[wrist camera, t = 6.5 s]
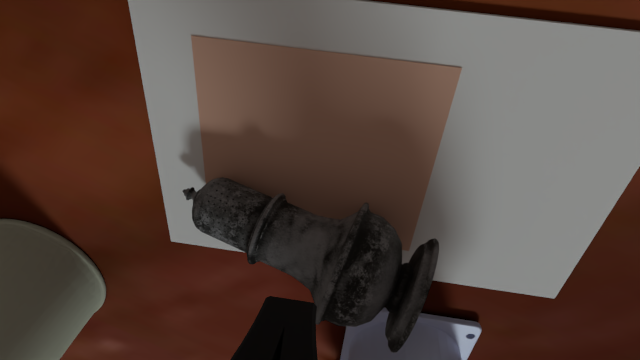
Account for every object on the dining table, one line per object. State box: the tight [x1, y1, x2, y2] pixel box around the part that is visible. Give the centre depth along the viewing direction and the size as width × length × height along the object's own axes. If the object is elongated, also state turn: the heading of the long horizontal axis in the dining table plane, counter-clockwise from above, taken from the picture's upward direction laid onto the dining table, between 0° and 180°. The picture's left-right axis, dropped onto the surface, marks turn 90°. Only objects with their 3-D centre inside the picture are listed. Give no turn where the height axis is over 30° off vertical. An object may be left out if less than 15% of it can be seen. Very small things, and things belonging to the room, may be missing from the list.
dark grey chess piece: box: [183, 177, 439, 353], centre depth 18 cm, size 6×6×12 cm
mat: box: [128, 0, 640, 299], centre depth 19 cm, size 14×22×1 cm, turn 85°
